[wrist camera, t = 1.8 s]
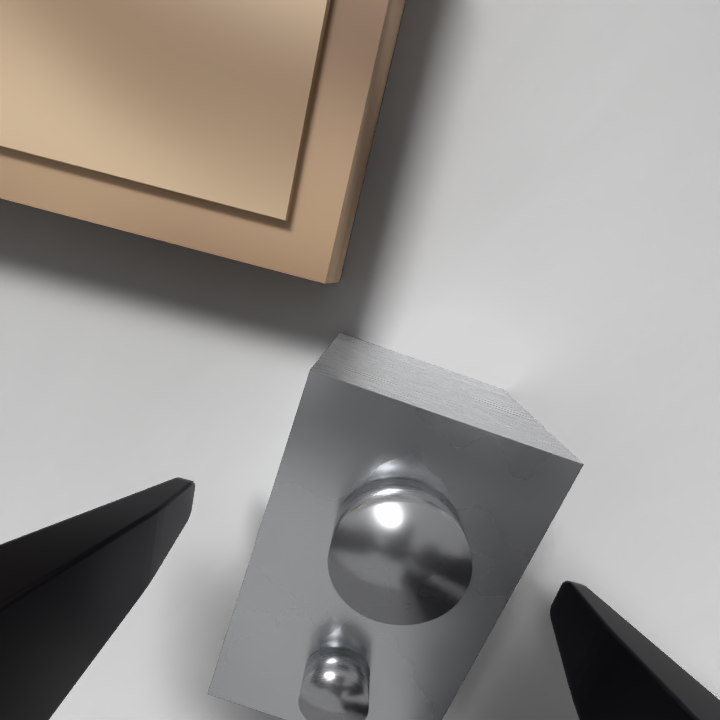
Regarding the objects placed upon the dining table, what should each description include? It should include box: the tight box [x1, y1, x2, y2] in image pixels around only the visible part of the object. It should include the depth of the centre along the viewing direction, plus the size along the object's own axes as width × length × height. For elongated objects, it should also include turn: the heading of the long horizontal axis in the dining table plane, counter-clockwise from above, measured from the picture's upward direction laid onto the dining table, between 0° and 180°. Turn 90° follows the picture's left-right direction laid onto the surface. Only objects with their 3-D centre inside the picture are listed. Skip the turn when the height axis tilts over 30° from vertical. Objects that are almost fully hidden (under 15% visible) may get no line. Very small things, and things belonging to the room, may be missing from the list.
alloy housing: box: [208, 333, 584, 720], centre depth 9 cm, size 8×5×5 cm, turn 161°
